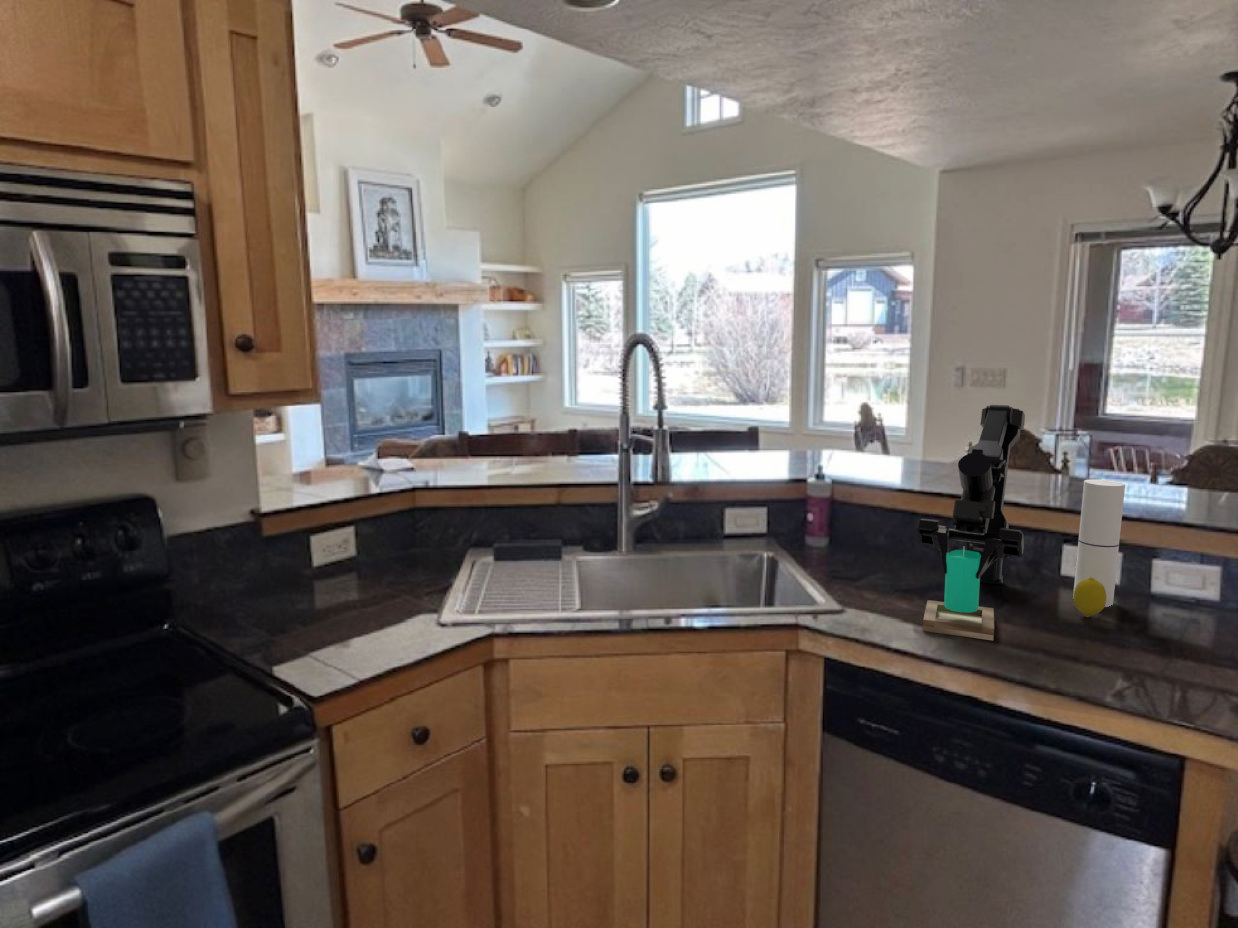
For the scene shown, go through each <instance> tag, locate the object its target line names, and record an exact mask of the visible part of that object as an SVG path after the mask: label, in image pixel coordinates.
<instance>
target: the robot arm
mask: <svg viewBox="0 0 1238 928" xmlns="http://www.w3.org/2000/svg"><path fill="white" fill-rule="evenodd" d="M980 415H981V416H980V426H981V428H982V429H981V434H980V437H979V440H978V443H976V444H974V445H973V446H970V447H969V450H968V452H967V454H965V455H963V456H962V457H961V458H960V459H959V460H958V463H957V467H958V474H959V481H960V482H959V483H960V486H961V488H962V492H961V493H962V494H961V498H960V499H955V500H954V503H953V504H954V505H953V510H952V517H953V518H952V525H953V526H954V528H950V527H948V526H946V525H941V520H937V519H930V518H929V519H928V518H921V519H919V520H917V522H916V526H915V531H916V536H917V539H918V543H920V544H921V545H927V546H933V548H934V549H935V550H938V551H939V553H940V555H941V562H942V563H941V564H942V569H943V574H944V575H945V574H946V570H947V564H946V553H949V552H951V545H950V541H951V540H954V541H960V542H966V545H967V546H966V547H967V548H966V550H969V551H974V552H979V553H980V555H981V559H980V564H979V569H978V571H977V573H976V578H977V579H979V578H980V583H983V584H984V583H985V584H992V585H998V586H999V585H1004V577H1003V575H1002V570H1003V569H1002V567H1003V559H1004V558H1005V559H1009V558H1011V557H1016V558H1022V557H1023V554H1024V549H1025V541H1024V533H1023V531H1022V530H1021V529H1011V528H1009V522H1008V521H1007V519H1006V516H1005V514H1004V512H1003V510H1004V503H1005V496H1006V494H1005V493H1006V488H1007V487H1006V486H1007V480H1008V471H1009V462H1010V456H1011V455H1010V453H1011V448H1012V447H1014V445H1015V444H1017V442H1018V440H1019V439H1020V435H1021V431H1022V430H1024V428H1025V422H1026V419H1025V418H1026V414H1025V412H1024V411H1023V410H1020V409H1019V408H1013V406H1010V405H1007V404H1005V405H1004V404H1003V405H1002V404H990V405H986V407H985V408H982V409H981V414H980Z"/></svg>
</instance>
